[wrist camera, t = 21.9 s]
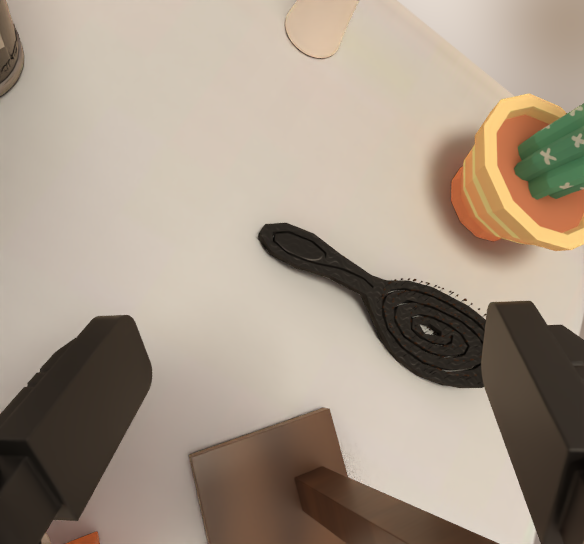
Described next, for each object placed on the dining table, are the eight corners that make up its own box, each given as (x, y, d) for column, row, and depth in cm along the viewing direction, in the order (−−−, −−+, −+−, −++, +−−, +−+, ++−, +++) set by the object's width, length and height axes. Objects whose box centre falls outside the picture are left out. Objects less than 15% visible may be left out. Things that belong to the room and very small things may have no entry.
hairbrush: (289, 180, 36) (526, 323, 39) (277, 198, 39) (496, 328, 43) (244, 263, 33) (504, 409, 36) (235, 275, 36) (474, 408, 40)
